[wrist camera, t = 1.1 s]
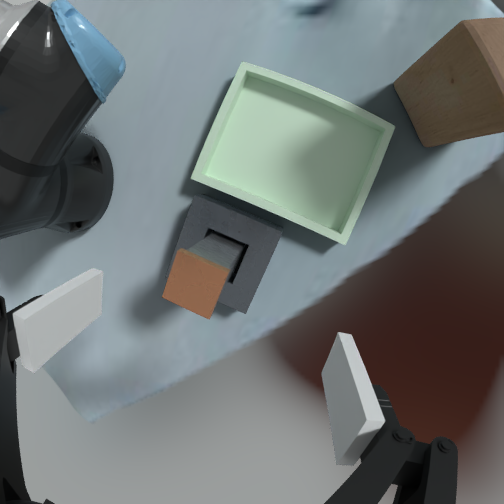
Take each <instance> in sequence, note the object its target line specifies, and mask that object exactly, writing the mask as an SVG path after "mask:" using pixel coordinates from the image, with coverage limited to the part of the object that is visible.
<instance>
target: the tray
mask: <svg viewBox="0 0 504 504" xmlns="http://www.w3.org/2000/svg"><path fill="white" fill-rule="evenodd" d="M394 129H395V126H394V125H392V124H391V123H389V122H387V121H385V120H383V119H381V118H379V117H378V116H376V115H374V114H372V113H370V112H368V111H366V110H364V109H362V108H360V107H358V106H356V105H354V104H352V103H350V102H347V101H345V100H343V99H341V98H339V97H337V96H334V95H332V94H330V93H327V92H325V91H323V90H321V89H318V88H316V87H313V86H311V85H308V84H306V83H303V82H301V81H298V80H296V79H293V78H290V77H288V76H285V75H282V74H279V73H277V72H274V71H271V70H268V69H265V68H262V67H259V66H256V65H252V64H249V63H246V62H243V61H242V63H241V65H240V67H239V69H238V71H237V73H236V75H235V77H234V79H233V81H232V83H231V85H230V88H229V90H228V92H227V94H226V96H225V98H224V101H223V103H222V105H221V107H220V109H219V112H218V114H217V116H216V118H215V121H214V123H213V125H212V128H211V130H210V132H209V135H208V137H207V139H206V142H205V144H204V146H203V149H202V151H201V154H200V156H199V159H198V161H197V164H196V166H195V169H194V171H193V174H192V176H191V179H193V180H195V181H198V182H200V183H203V184H205V185H208V186H210V187H213V188H215V189H217V190H220V191H222V192H225V193H227V194H230V195H232V196H234V197H237V198H239V199H242V200H244V201H246V202H249V203H251V204H253V205H256V206H258V207H260V208H263V209H265V210H267V211H270V212H272V213H274V214H277V215H279V216H281V217H283V218H286V219H288V220H290V221H293V222H295V223H297V224H299V225H302V226H304V227H306V228H308V229H310V230H313V231H315V232H317V233H319V234H321V235H324V236H326V237H328V238H330V239H332V240H335V241H337V242H339V243H341V244H343V245H346V243H347V241H348V238H349V236H350V234H351V232H352V230H353V228H354V225H355V223H356V221H357V219H358V217H359V214H360V212H361V210H362V208H363V205H364V203H365V201H366V198H367V196H368V194H369V191H370V189H371V187H372V184H373V182H374V180H375V177H376V175H377V172H378V170H379V167H380V165H381V162H382V160H383V157H384V155H385V152H386V150H387V147H388V145H389V142H390V139H391V137H392V134H393V131H394Z"/></svg>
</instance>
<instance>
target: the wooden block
mask: <svg viewBox="0 0 504 504" xmlns="http://www.w3.org/2000/svg"><path fill="white" fill-rule="evenodd" d="M394 88H395V90H396V92H397V94H398V96H399V97H400V99H401V101H402V103H403V105H404V107H405V109H406V111H407V113H408V115H409V117H410V119H411V121H412V124H413V126H414V128H415V130H416V132H417V134H418V137H419V139H420V141H421V143H422V144H423V146H425V147H434V146H438V145H442V144H447V143H451V142H456V141H461V140H465V139H470V138H475V137H480V136H485V135H490V134H496V133H501V132H504V18H485V19H473V20H463V21H461V22H459V23H458V24H457V25H456V26H455V27H454V28H453V29H452V30H450V31H449V32H448V33H447V34H446V35H445V36H444V37H443V38H441V39H440V40H439V41H438V42H437V43H436V44H435V45H434V46H433V47H431V48H430V49H429V50H428V51H427V52H426V53H425V54H424V55H423V56H422V57H420V58H419V59H418V60H417V61H416V62H415V63H414V64H413V65H412V66H411V67H409V68H408V69H407V70H406V71H405V72H404V73H403V74H402V75H401V76H400V77H399V78H398V79H397V80H396V81H395V82H394Z"/></svg>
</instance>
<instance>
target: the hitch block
mask: <svg viewBox="0 0 504 504" xmlns="http://www.w3.org/2000/svg"><path fill="white" fill-rule="evenodd" d="M213 230H215V231H218V232H220V233H222V234H224V235H227V236H229V237H231V238H234V239H236V240H238V241H241V242H243V243H245V244H248V245H249V247H248V249H247V251H246V254H245V256H244V258H243V261H242V263H241V265H240V268H239V270H238V273H237V274H235V273H232V275H231V277H230V278H229V280H228V282H227V283H226V285H225V287H224V288H223V290H222V292H221V294H220V296H219V299H218V301H217V302H219V303H222V304H224V305H226V306H228V307H231V308H233V309H235V310H238V311H240V312H242V313H245V314H246V312H247V310H248V308H249V306H250V303H251V301H252V299H253V297H254V295H255V292H256V290H257V288H258V286H259V284H260V281H261V279H262V277H263V275H264V273H265V270H266V268H267V266H268V264H269V262H270V259H271V257H272V255H273V253H274V250H275V248H276V246H277V244H278V241H279V239H280V237H281V235H282V232H283V228H282V227H280V226H278V225H276V224H273V223H271V222H269V221H266V220H264V219H262V218H259V217H257V216H255V215H253V214H250V213H248V212H245V211H243V210H241V209H238V208H236V207H234V206H231V205H229V204H227V203H224V202H222V201H219V200H217V199H215V198H212V197H210V196H207V195H205V194H199V195H194V198H193V201H192V203H191V206H190V209H189V211H188V214H187V217H186V219H185V222H184V225H183V228H182V231H181V233H180V236H179V239H178V242H177V245H176V248H175V250H174V253H173V256H172V259H171V262H170V265H169V268H168V271H167V274H166V277H165V278H167V279H168V277H169V274H170V271H171V268H172V265H173V262H174V259H175V256H176V254H177V251H178V250H179V249H181V248H183V249H185V250H188V249H189V248H191V247H192V246H194V245H195V244H197V243H198V242H200V241H201V240H203V239H204V238H206V237H207V236H209V235H210V234H212V231H213Z"/></svg>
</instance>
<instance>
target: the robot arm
mask: <svg viewBox="0 0 504 504" xmlns="http://www.w3.org/2000/svg"><path fill="white" fill-rule="evenodd" d="M125 68H126V64H125V59H124V57H123V56H122V55H121V53H120V52H119V51H118V50H117V49H116V48H115V47H114V46H113V45H112V44H111V43H110V42H109V41H108V40H107V39H106V38H105V37H104V36H103V35H102V34H101V33H100V32H99V31H98V30H97V29H96V28H95V27H94V26H93V25H92V24H91V23H90V22H89V21H88V20H87V19H86V18H85V17H84V16H83V15H81V14H80V13H79V12H78V11H77V10H76V9H75V8H74V7H73V6H72V5H71V4H70V3H69V2H68V1H67V0H56V1H54V2H52V4H51V7H48V6H46V5H45V4H43V3H41V2H40V1H38V0H34V1H30V2H27V3H24V4H21V5H12V4H10V3H8V2H6V1H4V0H0V239H2V238H6V237H9V236H13V235H16V234H20V233H23V232H27V231H31V230H35V229H38V228H42V227H45V228H49V229H53V230H57V231H61V232H67V233H71V232H77V231H81V230H84V229H87V228H89V227H91V226H93V225H94V224H95V223H96V222H97V221H98V220H99V219H100V218H101V217H102V215H103V214H104V212H105V211H106V209H107V207H108V204H109V202H110V199H111V195H112V190H113V180H114V179H113V167H112V163H111V159H110V156H109V154H108V152H107V150H106V149H105V147H104V146H103V144H102V143H101V142H100V141H99V140H97V139H96V138H94V137H92V136H90V135H87V134H81V133H80V132H81V130H82V129H83V128H84V126H85V125H86V123H87V122H88V121H89V119H90V118H91V117H92V116H93V114H94V113H95V112H96V110H97V109H98V108H99V107H100V105H101V104H102V103H103V104H104V103H105V101H106V97H107V96H108V94H109V93H110V92H111V90H112V89H113V88H114V86H115V85H116V84H117V82H118V81H119V80H120V79H121V77H122V76H123V74H124V72H125ZM102 284H103V271H100V270H97V269H94V268H91V269H90V270H88V271H86V272H84V273H82V274H80V275H78V276H77V277H75V278H73V279H71V280H69V281H68V282H66V283H64V284H62V285H60V286H59V287H57V288H55V289H53V290H52V291H50V292H48V293H46V294H45V295H40V296H36V297H33V298H31V299H30V300H28V301H27V302H24V303H23V304H22V305H19V306H18V307H16V308H14V309H12V310H11V311H9V312H7V313H6V306H5V299H4V298H3V297H2V296H0V504H42V503H38V502H34V501H31V499H30V497H29V494H28V492H27V489H26V486H25V481H24V477H23V470H22V463H21V456H20V448H19V439H18V427H17V409H16V361H15V359H16V358H18V357H19V356H20V358H21V362H22V366H23V367H25V368H26V369H28V370H30V371H31V372H33V373H34V372H35V371H37V370H38V369H39V368H40V367H41V366H42V365H43V364H44V363H46V362H47V361H48V360H49V359H50V358H51V357H52V356H53V355H55V354H56V353H57V352H58V351H59V350H60V349H62V348H63V347H64V346H65V345H66V344H67V343H68V342H70V341H71V340H72V339H73V338H74V337H75V336H77V335H78V334H79V333H80V332H81V331H82V330H84V329H85V328H86V327H87V326H88V325H90V324H91V323H92V322H93V321H94V320H96V319H97V318H98V317H99V316H100V315H102ZM322 379H323V385H324V390H325V396H326V402H327V407H328V413H329V419H330V425H331V431H332V437H333V445H334V451H335V458H336V465H354V464H355V463H356V462H357V461H358V459H359V458H361V464H360V465H359V467H358V468H357V469H356V470H355V471H354V472H353V473H352V475H351V476H350V477H349V478H348V479H347V480H346V481H345V482H344V483H343V485H342V486H341V487H340V488H339V489H338V490H337V491H336V492H335V493H334V494H333V495H332V496H331V497H330V498H329V499H328V500H327V501H326V502H325V503H324V504H378V502H379V501H380V500H381V498H382V497H383V495H384V494H385V492H386V491H387V489H388V488H389V486H390V485H391V484H396V485H398V487H397V491H396V494H395V498H394V502H393V504H455V503H456V491H457V490H456V489H457V468H458V450H457V446H456V445H455V443H454V442H453V441H451V440H450V439H447V438H446V437H436V438H435V439H434V440H433V441H432V442H431V443H430V444H427V443H423V442H419V441H416V440H415V436H414V435H413V433H412V432H411V431H409V430H408V429H407V428H404V427H402V426H400V424H399V422H398V419H397V417H396V414H395V412H394V409H393V408H392V405H391V403H390V401H389V398H388V395H387V393H386V392H385V391H384V390H383V388H382V387H381V386H380V385H372V384H371V382H370V380H369V377H368V374H367V372H366V369H365V367H364V364H363V362H362V359H361V357H360V354H359V352H358V349H357V347H356V345H355V342H354V340H353V338H352V335H350V334H344V333H340V332H338V334H337V337H336V339H335V342H334V345H333V347H332V349H331V352H330V354H329V357H328V359H327V361H326V364H325V366H324V369H323V371H322ZM43 504H54V503H53V502H51V501H49V500H48V499H46V500H45V502H44V503H43Z"/></svg>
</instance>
